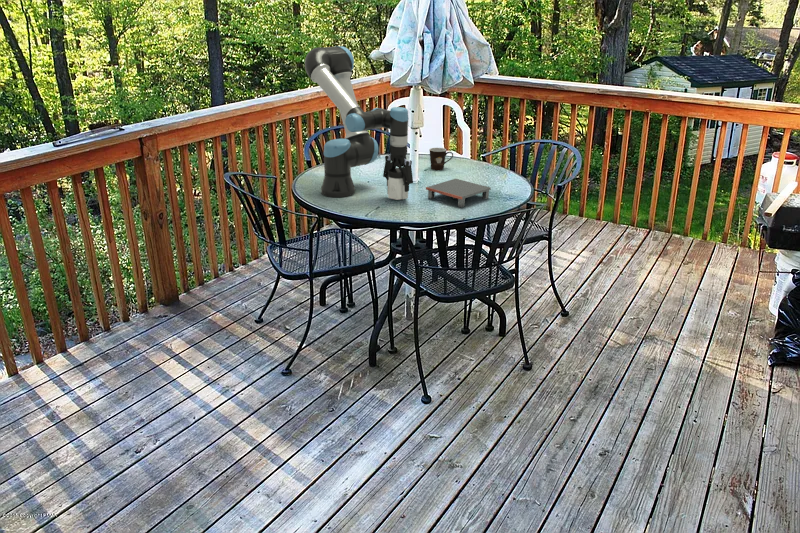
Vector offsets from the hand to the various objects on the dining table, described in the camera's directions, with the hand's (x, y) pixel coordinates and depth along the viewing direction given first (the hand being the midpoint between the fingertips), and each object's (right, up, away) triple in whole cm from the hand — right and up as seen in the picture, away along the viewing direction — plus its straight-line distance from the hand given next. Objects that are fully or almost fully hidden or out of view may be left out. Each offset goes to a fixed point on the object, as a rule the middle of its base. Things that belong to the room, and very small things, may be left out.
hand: (397, 196), depth 289 cm
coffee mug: (+22, +19, +49) cm, 57 cm away
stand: (+27, -1, +4) cm, 27 cm away
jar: (0, -1, 0) cm, 1 cm away
